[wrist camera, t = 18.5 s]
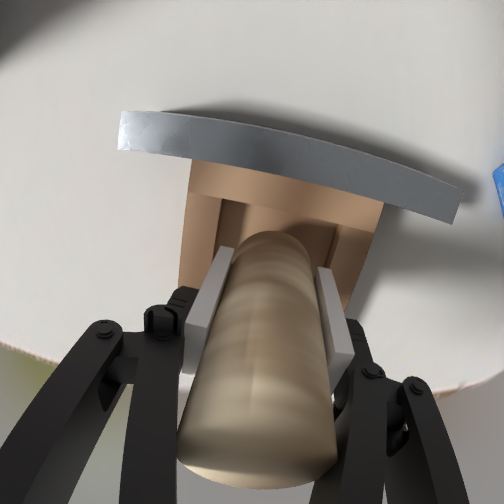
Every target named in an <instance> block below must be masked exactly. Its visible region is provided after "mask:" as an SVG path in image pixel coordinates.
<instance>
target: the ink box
mask: <svg viewBox="0 0 504 504" xmlns="http://www.w3.org/2000/svg"><path fill="white" fill-rule="evenodd" d="M493 177H494V181H495V184H496V187H497V191H498V195H499V199H500V203H501V207H502V211H503V216H504V164H502V165H501V166H500V167H498V168H497V169H496V170H495V171H494V172H493Z"/></svg>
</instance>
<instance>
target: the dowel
mask: <svg viewBox="0 0 504 504" xmlns="http://www.w3.org/2000/svg"><path fill="white" fill-rule="evenodd" d="M176 457H177V458H178V460H179V461H180V462H181V463H182V464H183V465H184V466H186V467H187V468H188V469H190V470H191V471H193V472H195V473H196V474H198V475H200V476H202V477H205V478H207V479H210V480H213V481H215V482H218V483H222V484H226V485H230V486H235V487H241V488H249V489H282V488H289V487H295V486H300V485H303V484H307V483H310V482H312V481H315V480H317V479H319V478H321V477H322V476H323V475H324V474H325V473H326V472H327V471H328V470H329V469H330V468H331V467H332V466H333V465H334V464H335V463H336V462H337V460H338V456H337V445H336V434H335V425H334V415H333V407H332V398H331V390H330V382H329V375H328V367H327V360H326V353H325V346H324V339H323V333H322V326H321V320H320V314H319V308H318V302H317V296H316V290H315V285H314V279H313V274H312V268H311V263H310V258H309V255H308V252H307V250H306V249H305V247H304V246H303V244H302V243H301V242H300V241H299V240H297V239H296V238H295V237H293V236H291V235H289V234H287V233H284V232H280V231H263V232H259V233H256V234H254V235H252V236H250V237H248V238H247V239H246V240H245V241H243V242H242V244H241V245H240V246H239V248H238V249H237V251H236V253H235V256H234V259H233V262H232V266H231V269H230V271H229V274H228V277H227V280H226V283H225V286H224V289H223V292H222V295H221V298H220V301H219V304H218V307H217V310H216V313H215V317H214V320H213V323H212V326H211V329H210V332H209V335H208V338H207V341H206V344H205V347H204V350H203V352H202V355H201V358H200V361H199V365H198V368H197V371H196V374H195V377H194V380H193V383H192V386H191V389H190V393H189V396H188V399H187V402H186V405H185V408H184V411H183V415H182V418H181V421H180V424H179V427H178V431H177V434H176Z"/></svg>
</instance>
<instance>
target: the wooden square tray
mask: <svg viewBox="0 0 504 504" xmlns="http://www.w3.org/2000/svg"><path fill="white" fill-rule="evenodd" d="M383 205H384V202H381V201H377V200H374V199H370V198H367V197H363V196H360V195H356V194H353V193H349V192H345V191H341V190H338V189H334V188H330V187H326V186H322V185H318V184H314V183H310V182H306V181H301V180H297V179H293V178H288V177H284V176H280V175H275V174H270V173H266V172H261V171H256V170H251V169H246V168H241V167H236V166H230V165H225V164H219V163H214V162H208V161H202V160H196V159H192V164H191V171H190V178H189V185H188V193H187V201H186V209H185V218H184V226H183V236H182V246H181V256H180V267H179V279H178V288H179V287H181V286H182V285H183V286H187V287H191V288H195V289H200V288H201V286H202V284H203V282H204V280H205V277H206V275H207V273H208V271H209V269H210V267H211V265H212V262H213V260H214V258H215V256H216V254H217V252H218V250H219V248H220V246H225V247H230V248H234V249H235V250H234V255H233V259H234V256H235V253H236V251H237V249H238V248H239V246H240V245H241V244H242V242H243V241H245V240H246V239H247V238H248V237H250V236H252V235H254V234H256V233H259V232H263V231H280V232H284V233H287V234H289V235H291V236H293V237H295V238H296V239H297V240H299V241H300V242H301V243H302V244H303V246H304V247H305V249H306V250H307V252H308V255H309V258H310V263H311V268H312V274H313V279H314V277H315V273H316V270H317V267H323V268H328V269H331V270H332V274H333V277H334V280H335V284H336V287H337V290H338V294H339V297H340V301H341V304H342V308H343V311H345V309H346V306H347V304H348V302H349V299H350V297H351V294H352V292H353V289H354V287H355V284H356V282H357V279H358V277H359V274H360V271H361V269H362V266H363V263H364V261H365V258H366V255H367V253H368V250H369V247H370V244H371V241H372V238H373V236H374V233H375V230H376V227H377V224H378V221H379V218H380V215H381V211H382V208H383ZM232 262H233V261H232Z"/></svg>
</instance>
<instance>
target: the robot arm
mask: <svg viewBox="0 0 504 504" xmlns="http://www.w3.org/2000/svg"><path fill="white" fill-rule="evenodd" d="M234 250H235V249H234V248H230V247H225V246H220V248H219V250H218V252H217V254H216V256H215V258H214V260H213V262H212V265H211V267H210V269H209V271H208V273H207V275H206V277H205V280H204V282H203V284H202V286H201V288H200V289H195V288H191V287H187V286H183V285H182V286H181V287H179V288H178V289H176V290H175V291H174V292H173V294H172V296H171V298H170V299H169V301H168V303H167V304H166V305H155V306H151V307H149V308H148V309H146V311H145V313H144V331H143V332H123V331H122V327H121V326H120V325H119V324H118V323H116V322H114V321H111V320H99V321H96V322H94V323H93V324H91V325H90V326H89V327H88V329H87V330H86V331H85V332H84V334H83V335H82V336H81V337H80V338H79V340H78V341H77V342H76V343H75V345H74V346H73V347H72V348H71V350H70V351H69V352H68V354H67V355H66V356H65V357H64V359H63V360H62V361H61V363H60V364H59V365H58V366H57V368H56V369H55V371H54V372H53V373H52V374H51V376H50V377H49V379H48V380H47V381H46V382H45V384H44V385H43V387H42V388H41V389H40V391H39V392H38V393H37V395H36V396H35V398H34V399H33V401H32V402H31V403H30V405H29V406H28V408H27V409H26V410H25V412H24V413H23V415H22V416H21V418H20V419H19V421H18V422H17V424H16V425H15V427H14V428H13V430H12V431H11V433H10V434H9V436H8V437H7V439H6V441H5V442H4V444H3V445H2V447H1V449H0V504H68V502H69V500H70V497H71V495H72V493H73V491H74V489H75V486H76V484H77V482H78V480H79V478H80V476H81V474H82V471H83V470H84V467H85V466H86V463H87V461H88V459H89V457H90V455H91V453H92V451H93V449H94V447H95V445H96V443H97V441H98V439H99V437H100V435H101V433H102V431H103V429H104V427H105V425H106V423H107V421H108V419H109V417H110V416H111V414H112V412H113V410H114V408H115V406H116V404H117V402H118V400H119V398H120V396H121V394H122V393H123V391H124V389H125V387H126V385H127V384H134V386H133V391H132V397H131V404H130V410H129V416H128V423H127V430H126V437H125V445H124V454H123V462H122V471H121V482H120V494H119V504H177V467H176V466H177V464H176V463H177V461H176V460H177V457H176V434H177V410H178V386H179V374H180V371H181V369H182V375H186V376H190V377H195V374H196V371H197V368H198V365H199V361H200V358H201V355H202V352H203V350H204V347H205V344H206V341H207V338H208V335H209V332H210V329H211V326H212V323H213V320H214V317H215V313H216V310H217V307H218V304H219V301H220V298H221V295H222V292H223V289H224V286H225V283H226V280H227V277H228V274H229V271H230V269H231V266H232V261H233V255H234ZM314 285H315V290H316V296H317V302H318V308H319V314H320V320H321V326H322V333H323V339H324V346H325V353H326V360H327V367H328V375H329V382H330V390H331V396H332V394H333V392H334V399H335V401H334V402H333V404H332V407H333V415H334V425H335V434H336V445H337V456H338V460H337V462H336V463H335V464H334V465H333V466H332V467H331V468H330V469H329V470H328V471H327V472H326V473H325V474H324V475H323V476H322V477H321V478H319V479H317V480H315V482H314V486H313V490H312V494H311V498H310V502H309V504H382V499H383V489H384V484H385V490H386V496H387V502H388V504H469V500H468V496H467V492H466V489H465V485H464V482H463V478H462V475H461V472H460V469H459V465H458V462H457V459H456V456H455V453H454V450H453V447H452V444H451V442H450V439H449V436H448V433H447V430H446V428H445V425H444V423H443V420H442V417H441V415H440V412H439V410H438V407H437V405H436V402H435V400H434V397H433V395H432V392H431V390H430V388H429V386H428V385H427V383H426V382H425V381H423V380H422V379H420V378H418V377H414V376H411V377H407V378H406V379H405V380H404V381H403V382H402V383H400V382H397V381H394V380H391V379H389V378H386V375H385V372H384V370H383V369H382V368H381V367H380V366H379V365H378V364H376V363H374V362H373V359H372V356H371V352H370V349H369V346H368V343H367V340H366V337H365V333H364V330H363V327H362V326H361V325H360V324H359V323H358V321H357V320H353V319H347V318H345V315H344V311H343V308H342V304H341V301H340V297H339V294H338V290H337V287H336V284H335V280H334V277H333V274H332V270H331V269H328V268H323V267H317V270H316V273H315V277H314ZM406 424H407V427H408V430H407V429H406V426H405V425H406Z"/></svg>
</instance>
